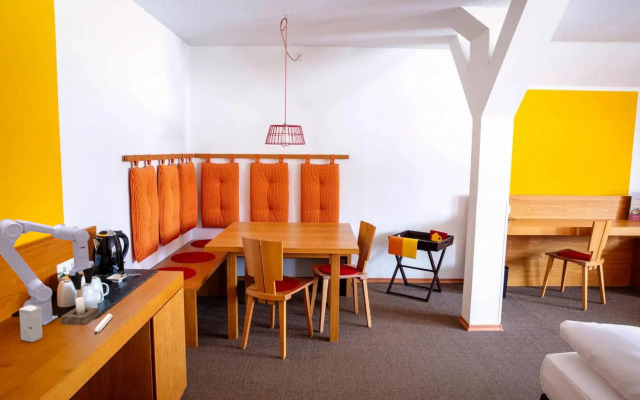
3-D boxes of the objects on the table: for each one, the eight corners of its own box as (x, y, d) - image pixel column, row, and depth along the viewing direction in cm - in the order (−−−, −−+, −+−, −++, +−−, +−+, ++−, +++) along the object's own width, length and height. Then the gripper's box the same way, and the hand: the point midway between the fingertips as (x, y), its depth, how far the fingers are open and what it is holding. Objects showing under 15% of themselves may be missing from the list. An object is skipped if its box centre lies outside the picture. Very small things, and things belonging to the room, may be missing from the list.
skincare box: (20, 340, 159) (17, 309, 157) (31, 334, 163) (28, 304, 161) (33, 342, 157) (29, 311, 155) (44, 337, 161) (41, 306, 160)
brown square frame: (61, 323, 173) (61, 316, 172) (76, 313, 183) (76, 307, 182) (85, 324, 172) (85, 317, 172) (99, 314, 182) (99, 307, 182)
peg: (75, 320, 176) (73, 299, 175) (79, 317, 179) (78, 296, 178) (82, 320, 176) (80, 299, 175) (86, 317, 179) (85, 297, 178)
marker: (94, 337, 163) (109, 319, 179) (99, 335, 163) (113, 317, 179) (90, 332, 163) (105, 314, 178) (95, 329, 163) (109, 312, 178)
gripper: (79, 261, 177) (82, 292, 179) (99, 251, 191) (101, 281, 193) (63, 260, 177) (65, 292, 179) (84, 251, 191) (86, 280, 193)
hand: (83, 286), depth 186 cm, fingers open, 7 cm apart
